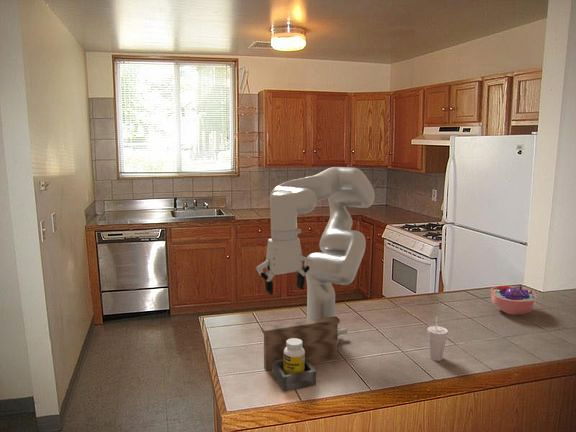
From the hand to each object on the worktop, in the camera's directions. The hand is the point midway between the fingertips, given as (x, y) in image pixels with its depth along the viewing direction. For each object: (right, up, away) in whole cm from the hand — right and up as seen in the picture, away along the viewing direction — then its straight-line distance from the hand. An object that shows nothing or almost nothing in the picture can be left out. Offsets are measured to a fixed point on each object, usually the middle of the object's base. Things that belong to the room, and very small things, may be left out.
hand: (285, 290), depth 138 cm
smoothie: (+49, -24, +12) cm, 56 cm away
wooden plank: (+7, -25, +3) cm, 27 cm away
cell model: (+92, -17, +51) cm, 106 cm away
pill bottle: (+3, -25, -1) cm, 26 cm away
